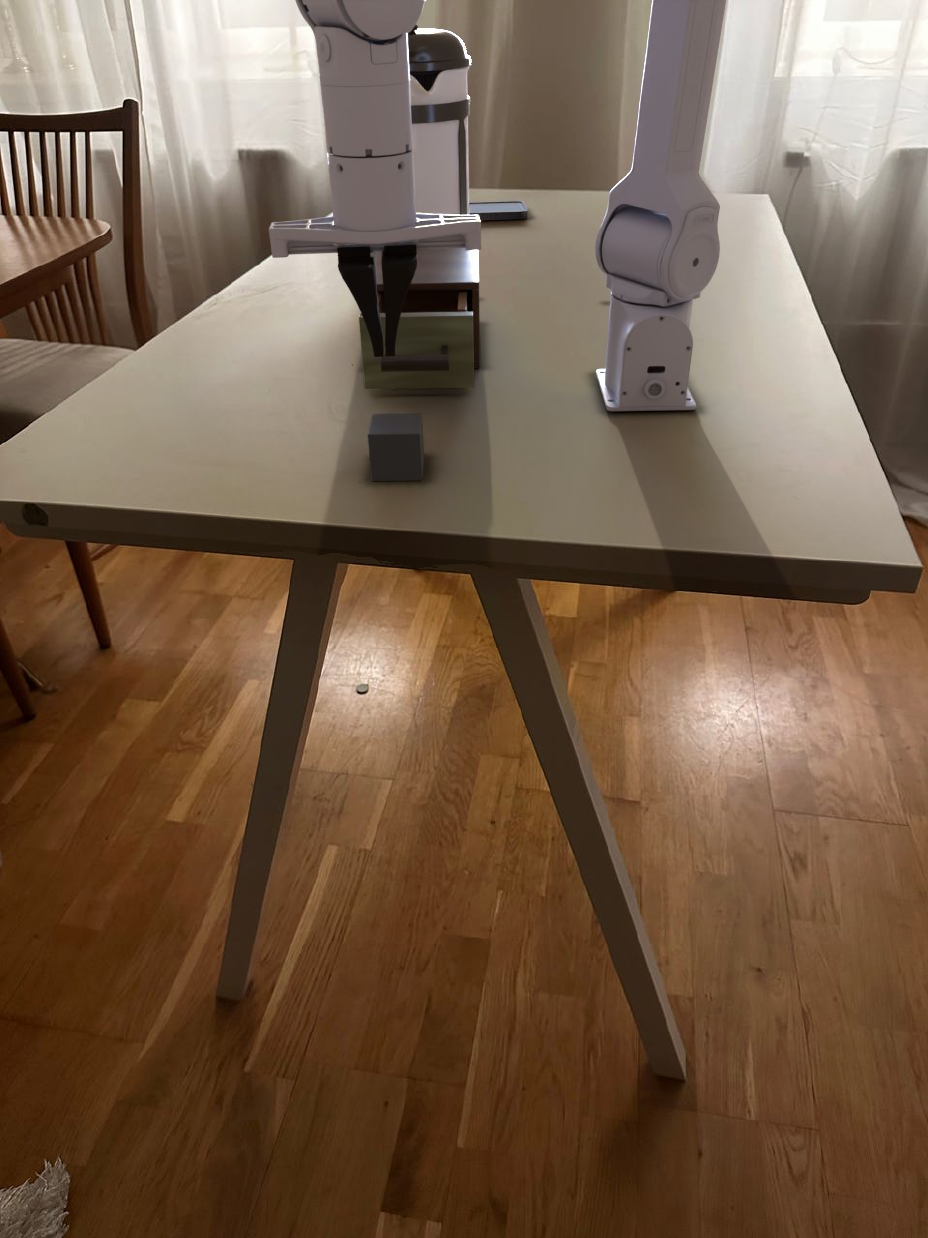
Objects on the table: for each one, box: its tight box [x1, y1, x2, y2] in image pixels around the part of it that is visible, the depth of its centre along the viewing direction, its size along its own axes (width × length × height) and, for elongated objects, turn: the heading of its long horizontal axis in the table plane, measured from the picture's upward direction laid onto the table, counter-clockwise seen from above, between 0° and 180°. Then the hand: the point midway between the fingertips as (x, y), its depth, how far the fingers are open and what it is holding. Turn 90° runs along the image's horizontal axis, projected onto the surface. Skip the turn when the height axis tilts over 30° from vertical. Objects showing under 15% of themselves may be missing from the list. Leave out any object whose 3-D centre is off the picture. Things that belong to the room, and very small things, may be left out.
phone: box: [469, 200, 529, 221], centre depth 145 cm, size 8×1×15 cm
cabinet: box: [375, 248, 481, 369], centre depth 94 cm, size 13×11×8 cm
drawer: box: [358, 290, 475, 390], centre depth 86 cm, size 17×10×7 cm, turn 0°
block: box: [367, 412, 425, 482], centre depth 72 cm, size 4×4×4 cm
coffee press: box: [407, 24, 472, 215], centre depth 104 cm, size 17×16×30 cm
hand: (384, 352), depth 68 cm, fingers closed
